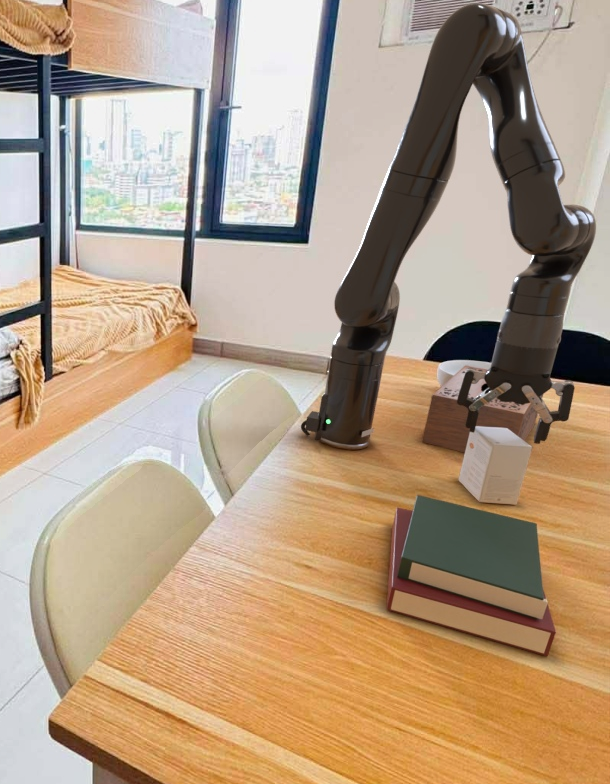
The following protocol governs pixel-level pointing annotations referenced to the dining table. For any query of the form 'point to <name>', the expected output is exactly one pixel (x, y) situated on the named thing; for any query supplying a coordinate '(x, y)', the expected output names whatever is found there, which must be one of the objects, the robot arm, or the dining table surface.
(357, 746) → the dining table surface
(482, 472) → the small box
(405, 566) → the books
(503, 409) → the tissue box cover
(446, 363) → the cereal bowl
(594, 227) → the robot arm
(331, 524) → the dining table surface
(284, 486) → the dining table surface
